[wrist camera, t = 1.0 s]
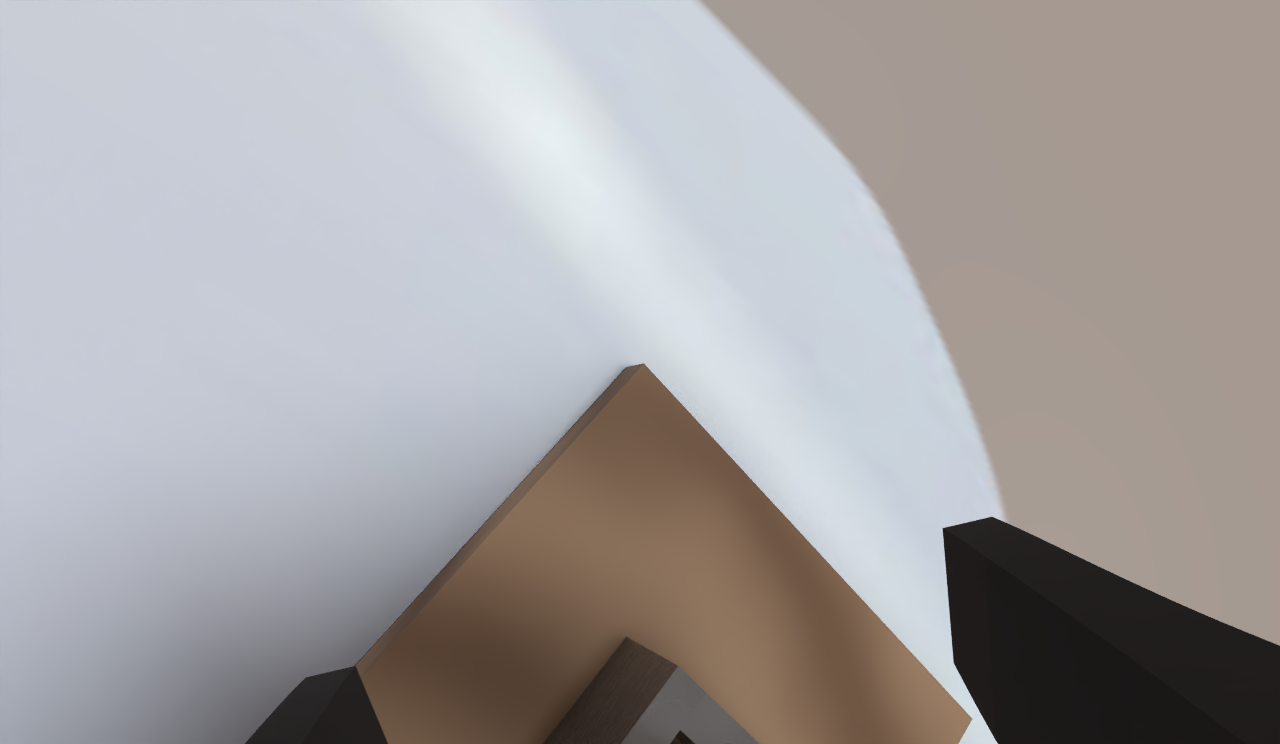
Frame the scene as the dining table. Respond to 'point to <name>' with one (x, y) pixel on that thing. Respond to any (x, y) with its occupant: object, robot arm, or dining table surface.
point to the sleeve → (645, 706)
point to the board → (646, 601)
